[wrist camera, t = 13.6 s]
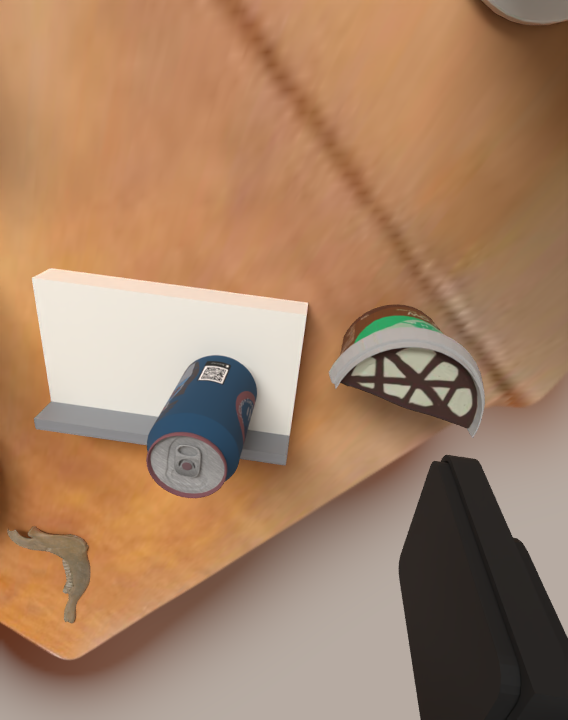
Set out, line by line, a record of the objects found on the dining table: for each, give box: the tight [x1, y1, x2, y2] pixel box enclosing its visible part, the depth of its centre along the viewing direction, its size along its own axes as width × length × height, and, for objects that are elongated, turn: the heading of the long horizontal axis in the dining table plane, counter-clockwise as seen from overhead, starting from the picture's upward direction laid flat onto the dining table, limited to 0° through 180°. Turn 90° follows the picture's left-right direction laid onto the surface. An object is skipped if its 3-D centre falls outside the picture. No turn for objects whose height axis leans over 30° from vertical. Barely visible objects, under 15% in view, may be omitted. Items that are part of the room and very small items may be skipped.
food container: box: [329, 305, 485, 438], centre depth 37 cm, size 12×6×10 cm, turn 70°
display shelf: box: [32, 268, 308, 465], centre depth 42 cm, size 24×14×6 cm, turn 84°
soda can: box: [147, 355, 257, 498], centre depth 37 cm, size 7×7×12 cm
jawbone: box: [8, 526, 90, 623], centre depth 62 cm, size 9×20×2 cm, turn 9°
